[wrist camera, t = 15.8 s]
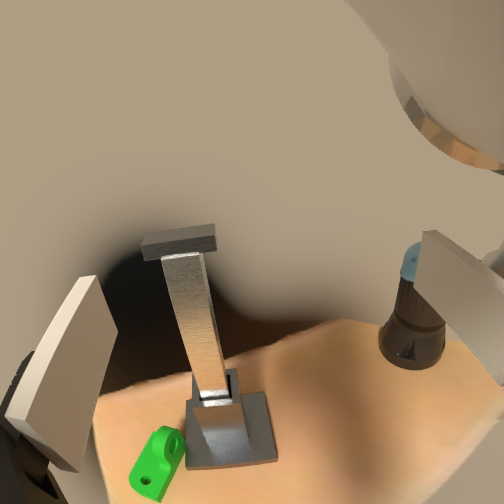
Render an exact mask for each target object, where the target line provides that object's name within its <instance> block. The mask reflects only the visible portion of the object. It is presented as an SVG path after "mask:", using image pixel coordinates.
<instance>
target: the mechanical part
mask: <svg viewBox="0 0 504 504" xmlns="http://www.w3.org/2000/svg"><path fill="white" fill-rule="evenodd" d="M184 453H185V440H184V438H183V437H182V435H181V433H180V431H179V430H177V429H174V428H171V427H168V426H162V427H160V428H159V429H158V430H157V432H155V431H153V433H152V435H151V437H150V439H149V440H148V442H147V444H146V446H145V447H144V449H143V451H142V453H141V455H140V456H139V458H138V460H137V462H136V463H135V465H134V467H133V469H132V471H131V472H130V475H129V482H130V485H131V486H132V488H133V489H134V490H135V491H136V492H138V493H139V494H140V495H142V496H144V497H146V498H149V499H151V500H154V501H156V502H159V503H161V500H162V498H163V496H164V494H165V492H166V490H167V488H168V486H169V484H170V482H171V480H172V478H173V476H174V474H175V472H176V470H177V467H178V465H179V463H180V461H181V459H182V457H183V455H184ZM149 479H150V480H151V483H150V484H148V485H145V481H146V480H149Z"/></svg>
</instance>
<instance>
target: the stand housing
mask: <svg viewBox="0 0 504 504" xmlns="http://www.w3.org/2000/svg"><path fill="white" fill-rule="evenodd" d="M226 374H227V378H228V382H229V387H230V391H231V395H232V398H229V399H220V400H211V401H203V400H202V397H201V394H200V391H199V388H198V385H197V382H196V379H195V376H194V373H192V400H186V435H185V467H186V468H187V470H208V469H222V468H233V467H242V466H250V465H258V464H265V463H271V462H277V456H276V451H275V446H274V441H273V436H272V431H271V427H270V422H269V417H268V412H267V407H266V402H265V397H264V392H257V393H250V394H243V395H241V391H240V386H239V380H238V375H237V370H236V368H235V369H227V370H226Z"/></svg>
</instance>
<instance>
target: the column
mask: <svg viewBox="0 0 504 504" xmlns="http://www.w3.org/2000/svg"><path fill="white" fill-rule="evenodd" d="M141 248H142V252H143V256H144V260H145V261H146V260H154V259H161V258H162V259H161V261H162V265H163V269H164V273H165V277H166V280H167V285H168V289H169V293H170V296H171V300H172V304H173V307H174V311H175V314H176V318H177V321H178V325H179V328H180V332H181V335H182V339H183V342H184V345H185V348H186V352H187V355H188V358H189V361H190V364H191V367H192V370H193V373H194V376H195V379H196V382H197V385H198V388H199V391H200V394H201V397H202V400H203V401H211V400H220V399H229V398H232V395H231V391H230V387H229V382H228V378H227V374H226V369H225V365H224V360H223V356H222V351H221V346H220V342H219V337H218V332H217V327H216V323H215V317H214V312H213V307H212V302H211V297H210V291H209V286H208V281H207V276H206V270H205V264H204V258H203V253H206V252H213V251H217V237H216V230H215V224H208V225H200V226H193V227H186V228H178V229H172V230H165V231H159V232H151V233H147V234H146V236H145V238H144V240H143V242H142V244H141Z"/></svg>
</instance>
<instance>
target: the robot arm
mask: <svg viewBox="0 0 504 504" xmlns="http://www.w3.org/2000/svg"><path fill="white" fill-rule="evenodd" d="M345 1H346V2H347V3H348V5H349V6H350V7H351V8H352V9H353V10H354V11H355V12H356V14H357V15H358V16H359V17H360V18H361V19H362V21H363V22H364V23H365V24H366V25H367V27H368V28H369V29H370V30H371V31H372V33H373V34H374V35H375V36H376V38H377V39H378V40H379V41H380V43H381V44H382V46H383V47H384V48H385V49H386V51H387V52H388V54H389V59H388V62H389V69H390V75H391V80H392V84H393V87H394V89H395V92H396V95H397V97H398V99H399V101H400V103H401V105H402V107H403V109H404V111H405V112H406V114H407V115H408V117H409V119H410V120H411V122H412V123H413V124H414V125H415V127H416V128H417V129H418V130H419V132H420V133H421V134H422V135H423V136H424V137H425V138H426V139H427V140H428V141H429V142H431V143H432V144H433V145H434V146H436V147H437V148H438V149H439V150H441V151H442V152H444V153H446V154H447V155H448V156H450V157H452V158H453V159H455V160H458V161H460V162H462V163H464V164H467V165H470V166H473V167H476V168H481V169H486V170H487V169H488V170H491V171H493V172H495V173H498V174H501V175H504V0H345ZM400 274H401V278H400V283H399V288H398V294H397V299H396V303H395V308H394V311H393V313H392V315H391V316H390V318H389V320H388V322H387V323H386V324H385V325H384V327H383V328H382V331H381V335H380V339H379V347H380V350H381V352H382V354H383V355H384V356H385V358H386V359H387V360H388V361H390V362H391V363H393V364H394V365H396V366H398V367H401V368H404V369H408V370H422V369H426V368H429V367H431V366H433V365H435V364H436V363H437V362H438V361H439V359H440V358H441V356H442V353H443V351H444V348H445V323H446V322H447V324H448V325H449V326H450V327H451V328H452V329H453V331H454V332H455V333H456V334H457V335H458V336H459V337H460V338H461V340H462V341H463V342H464V343H465V344H466V346H467V347H468V348H469V349H470V350H471V351H472V353H473V354H474V355H475V356H476V357H477V359H478V360H479V361H480V362H481V364H482V365H483V366H484V367H485V368H486V370H487V371H488V372H489V373H490V375H491V376H492V377H493V379H494V380H495V381H496V382H497V384H498V385H499V386H500V388H501V387H502V386H504V241H503V242H502V244H501V245H500V247H499V249H498V250H495V251H492V252H490V253H488V254H487V255H486V256H485V257H484V258H483V259H482V260H478V259H477V258H475V257H474V256H473V255H471V254H470V253H468V252H467V251H465V250H464V249H463V248H461V247H460V246H458V245H457V244H456V243H454V242H453V241H452V240H450V239H449V238H447V237H446V236H444V235H443V234H441V233H440V232H438V231H437V230H431V231H423V234H422V241H421V242H418V243H416V244H414V245H412V246H411V247H409V249H408V250H407V251H406V253H405V256H404V261H403V265H402V268H401V270H400ZM117 333H118V331H117V329H116V326H115V324H114V321H113V319H112V316H111V314H110V311H109V309H108V306H107V303H106V301H105V298H104V296H103V293H102V290H101V288H100V285H99V282H98V279H97V276H96V275H94V276H86V277H80V278H79V279H78V281H77V282H76V284H75V285H74V287H73V288H72V290H71V291H70V293H69V294H68V296H67V298H66V299H65V301H64V302H63V304H62V306H61V307H60V309H59V311H58V312H57V314H56V315H55V317H54V319H53V321H52V323H51V324H50V326H49V328H48V329H47V331H46V333H45V334H44V336H43V338H42V340H41V342H40V343H39V345H38V347H37V349H36V351H32V352H31V353H30V354H29V355H28V356H27V357H26V358H25V359H24V360H23V361H22V363H21V365H20V367H19V369H18V371H17V372H16V374H17V375H16V376H15V377H14V378H13V380H12V385H10V387H9V389H8V391H7V393H6V395H5V397H4V399H3V401H2V404H1V406H0V504H68V502H67V500H66V499H65V497H64V495H63V493H62V491H61V490H60V488H59V486H58V484H57V482H56V480H55V478H54V476H53V474H52V473H51V471H50V470H49V469H48V464H49V461H50V462H51V463H53V464H54V465H55V466H56V467H57V468H59V469H60V470H63V471H68V472H74V473H81V468H82V463H83V459H84V453H85V449H86V444H87V440H88V435H89V431H90V427H91V423H92V419H93V415H94V411H95V407H96V403H97V399H98V396H99V392H100V388H101V385H102V381H103V378H104V374H105V371H106V368H107V364H108V361H109V358H110V354H111V351H112V348H113V345H114V342H115V339H116V336H117Z"/></svg>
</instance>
